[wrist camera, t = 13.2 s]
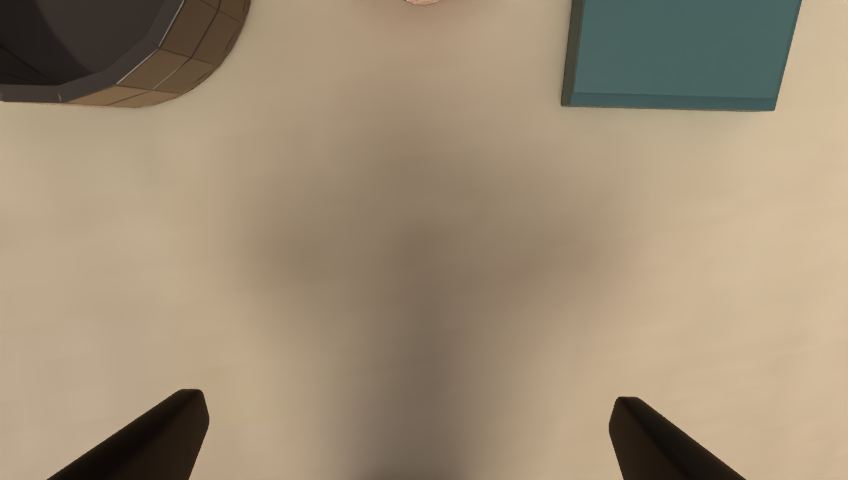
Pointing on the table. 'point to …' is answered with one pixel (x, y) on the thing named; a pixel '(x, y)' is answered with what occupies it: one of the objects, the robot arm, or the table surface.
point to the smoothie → (422, 1)
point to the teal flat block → (678, 54)
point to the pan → (112, 49)
